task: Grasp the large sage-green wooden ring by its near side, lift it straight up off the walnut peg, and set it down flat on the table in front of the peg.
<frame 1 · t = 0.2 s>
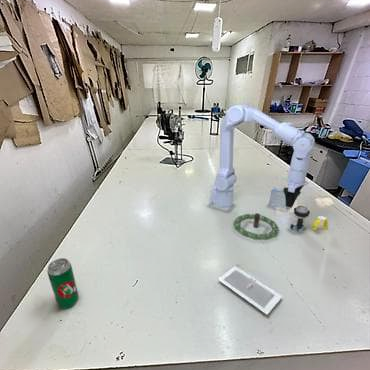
hand: (291, 202, 89), 10 cm above the table, tool pointing down, fingers open, 7 cm apart
soda can: (68, 301, 60), on the table
ring: (255, 226, 90), point 1 cm above the table
touchpad: (248, 291, 64), on the table
medicine box: (278, 207, 107), on the table
peg: (255, 229, 90), on the table
push button: (298, 231, 90), on the table
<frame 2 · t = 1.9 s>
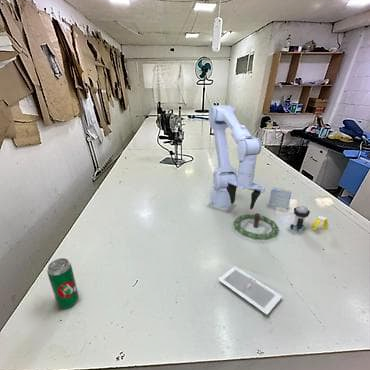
hand: (242, 205, 91), 8 cm above the table, tool pointing down, fingers open, 7 cm apart
nothing on the table moved.
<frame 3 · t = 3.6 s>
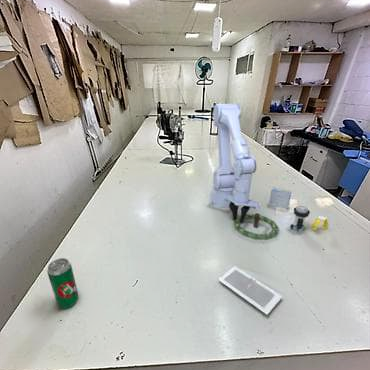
hand: (238, 220, 93), 1 cm above the table, tool pointing down, fingers closed on ring, 2 cm apart
ring: (255, 226, 90), point 1 cm above the table, touching gripper
everything else where it was.
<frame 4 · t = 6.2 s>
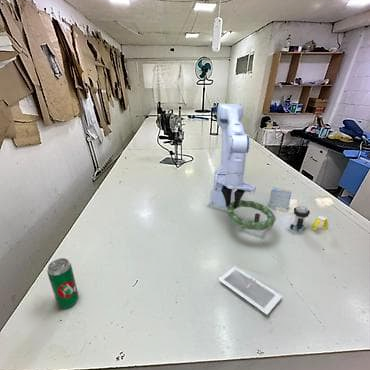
hand: (231, 206, 85), 10 cm above the table, tool pointing down, fingers closed on ring, 2 cm apart
ring: (250, 214, 82), point 10 cm above the table, tilted 5°, touching gripper
everything else where it was.
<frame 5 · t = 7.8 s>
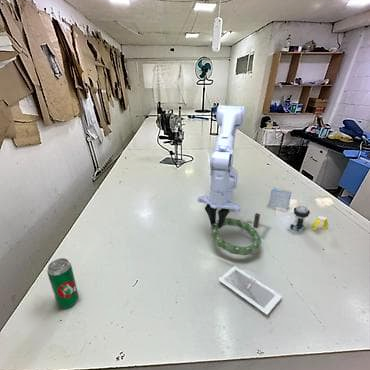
hand: (216, 225, 80), 7 cm above the table, tool pointing down, fingers closed on ring, 2 cm apart
ring: (235, 235, 77), point 6 cm above the table, tilted 10°, touching gripper
everything else where it was.
when the fingers open (3 cm above the table, at t = 9.0 s): ring stays where it is, point 1 cm above the table.
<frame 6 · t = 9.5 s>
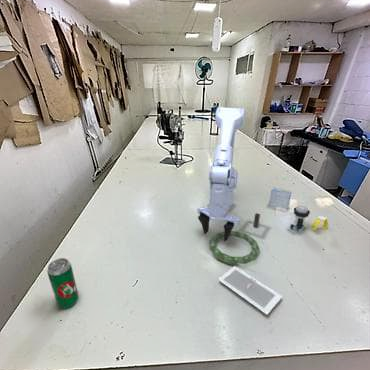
hand: (215, 236, 82), 3 cm above the table, tool pointing down, fingers open, 7 cm apart
ring: (233, 246, 79), point 1 cm above the table
everything else where it was.
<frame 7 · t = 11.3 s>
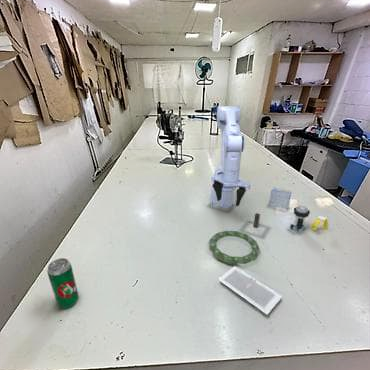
hand: (228, 202, 90), 9 cm above the table, tool pointing down, fingers open, 7 cm apart
nothing on the table moved.
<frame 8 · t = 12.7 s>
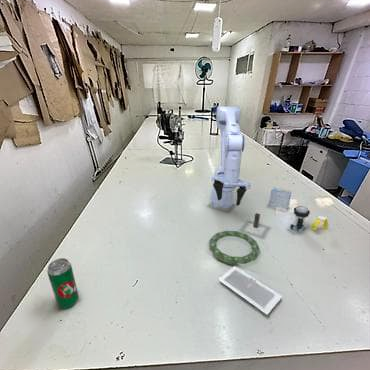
hand: (228, 201, 91), 9 cm above the table, tool pointing down, fingers open, 7 cm apart
nothing on the table moved.
at the end: ring inside the target area (0.5 cm from its centre), point 1.2 cm above the table; the gripper is holding nothing; ring tilted 0° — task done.
